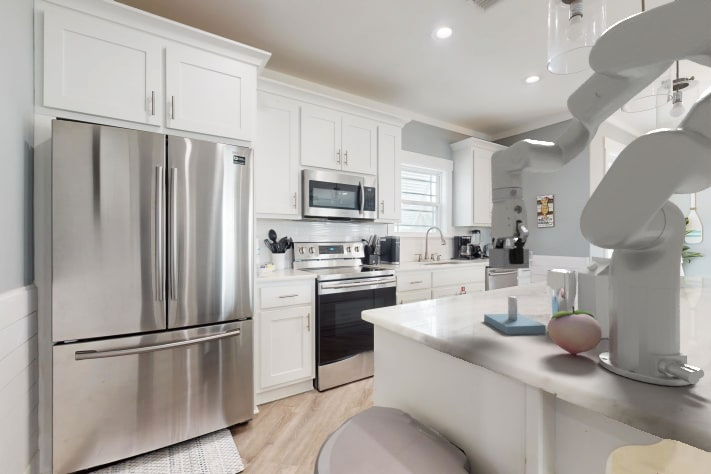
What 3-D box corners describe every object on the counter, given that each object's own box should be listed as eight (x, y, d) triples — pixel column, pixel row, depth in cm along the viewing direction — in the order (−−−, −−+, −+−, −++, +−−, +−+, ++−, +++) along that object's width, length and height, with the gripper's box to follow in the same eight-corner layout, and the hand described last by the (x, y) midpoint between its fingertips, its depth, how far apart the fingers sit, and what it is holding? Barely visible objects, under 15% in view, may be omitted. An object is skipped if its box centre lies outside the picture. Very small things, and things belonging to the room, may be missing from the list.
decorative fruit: (577, 366, 59) (576, 313, 59) (541, 351, 67) (539, 304, 67) (614, 359, 62) (613, 308, 61) (575, 346, 69) (573, 300, 69)
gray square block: (529, 268, 81) (528, 248, 81) (503, 268, 80) (502, 249, 80) (513, 266, 88) (512, 248, 88) (489, 266, 87) (488, 248, 87)
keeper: (545, 333, 79) (545, 301, 79) (507, 334, 78) (506, 302, 78) (517, 320, 91) (517, 292, 91) (484, 321, 90) (484, 293, 90)
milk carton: (607, 330, 81) (606, 256, 81) (628, 339, 74) (627, 258, 74) (577, 329, 82) (577, 256, 81) (595, 338, 74) (595, 258, 74)
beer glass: (540, 325, 86) (540, 270, 86) (557, 321, 89) (556, 268, 89) (567, 332, 80) (566, 272, 80) (583, 328, 83) (583, 271, 83)
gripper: (542, 191, 76) (544, 265, 76) (502, 200, 93) (503, 260, 93) (512, 191, 75) (514, 266, 75) (478, 200, 93) (479, 261, 92)
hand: (508, 262), depth 84 cm, fingers closed on gray square block, 7 cm apart
